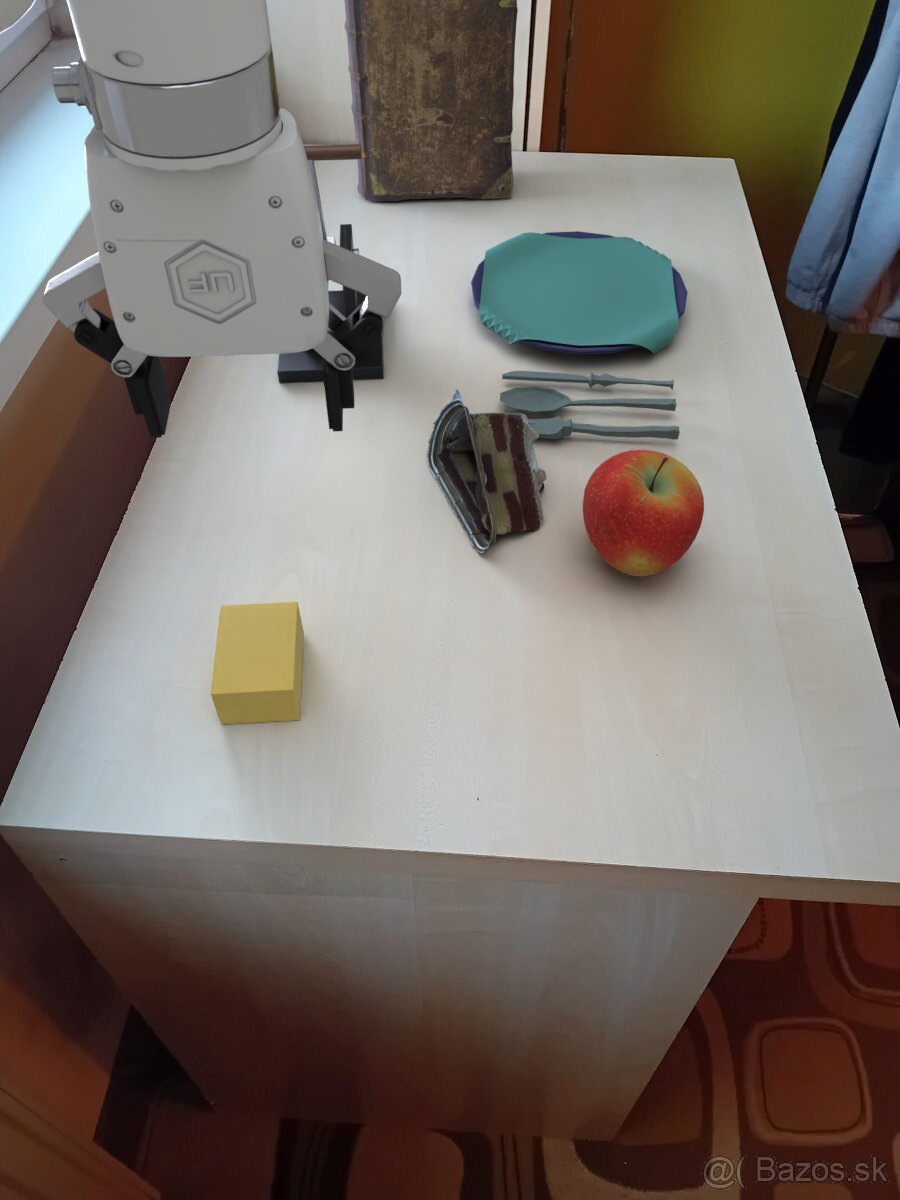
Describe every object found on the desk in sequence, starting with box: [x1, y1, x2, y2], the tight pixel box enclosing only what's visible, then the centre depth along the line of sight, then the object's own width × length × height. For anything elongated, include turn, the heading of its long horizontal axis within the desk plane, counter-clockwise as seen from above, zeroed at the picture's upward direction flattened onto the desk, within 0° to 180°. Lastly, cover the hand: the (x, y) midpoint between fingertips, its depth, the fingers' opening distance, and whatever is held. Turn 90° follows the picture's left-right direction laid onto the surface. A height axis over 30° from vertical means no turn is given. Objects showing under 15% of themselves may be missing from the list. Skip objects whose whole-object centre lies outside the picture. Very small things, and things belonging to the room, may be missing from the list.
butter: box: [210, 601, 305, 725], centre depth 62 cm, size 5×7×3 cm
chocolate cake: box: [426, 388, 547, 554], centre depth 73 cm, size 10×7×12 cm
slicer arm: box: [303, 143, 362, 245], centre depth 74 cm, size 16×8×2 cm
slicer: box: [276, 223, 385, 384], centre depth 83 cm, size 12×9×10 cm
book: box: [344, 0, 519, 202], centre depth 95 cm, size 17×7×25 cm, turn 90°
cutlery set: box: [470, 230, 688, 440], centre depth 86 cm, size 20×30×2 cm, turn 175°
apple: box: [582, 449, 705, 577], centre depth 66 cm, size 8×8×10 cm
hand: (249, 418), depth 53 cm, fingers open, 9 cm apart
